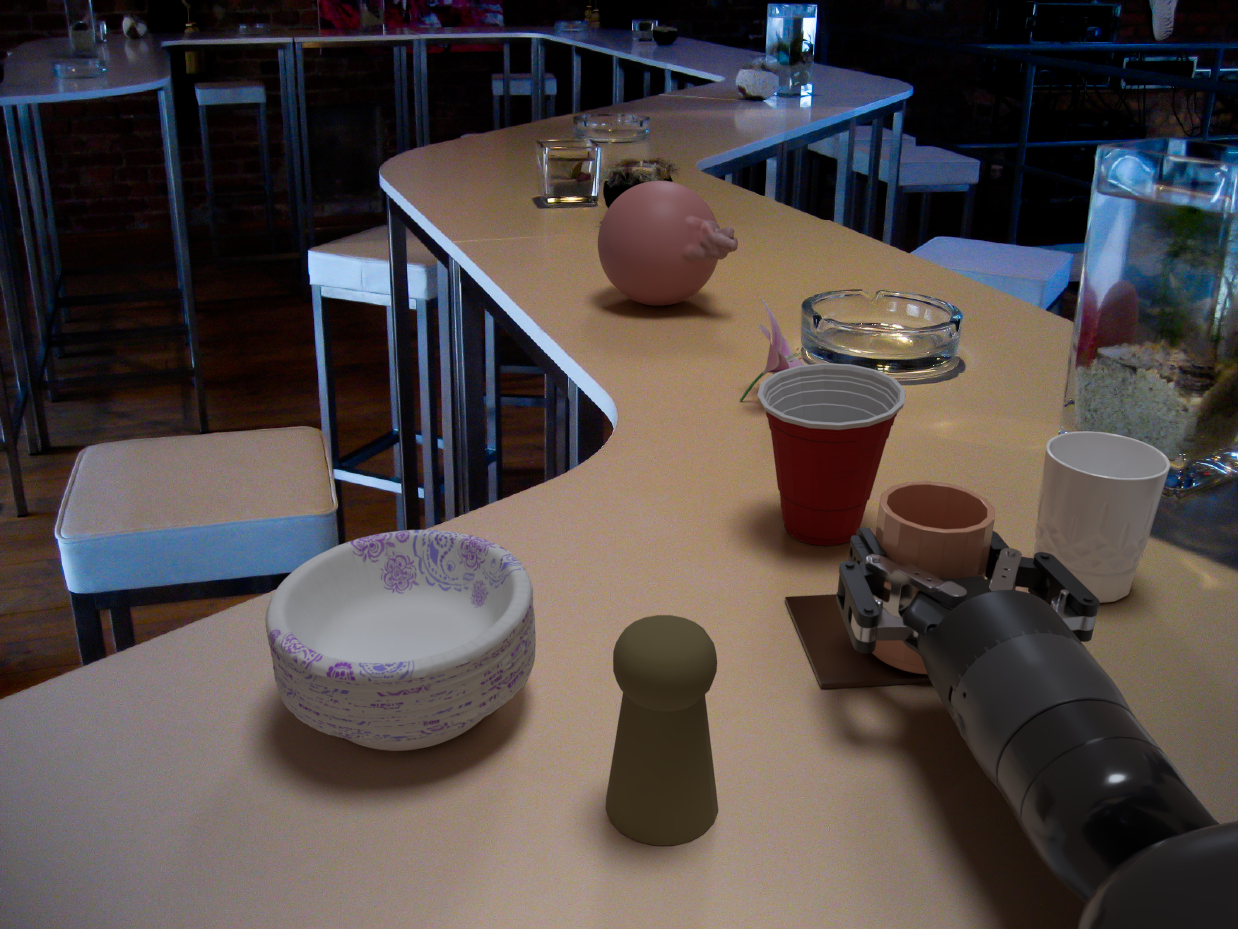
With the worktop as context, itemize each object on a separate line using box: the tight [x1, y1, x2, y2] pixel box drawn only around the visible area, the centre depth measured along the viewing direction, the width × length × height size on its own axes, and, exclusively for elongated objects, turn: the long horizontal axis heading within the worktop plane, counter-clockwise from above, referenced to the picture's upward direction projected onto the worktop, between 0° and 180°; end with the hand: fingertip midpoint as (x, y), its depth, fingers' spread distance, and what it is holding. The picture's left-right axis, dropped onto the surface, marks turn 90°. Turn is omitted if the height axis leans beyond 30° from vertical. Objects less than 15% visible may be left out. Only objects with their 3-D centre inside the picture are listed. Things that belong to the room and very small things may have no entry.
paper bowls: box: [264, 529, 537, 752], centre depth 64 cm, size 15×15×8 cm
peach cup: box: [872, 480, 996, 674], centre depth 68 cm, size 7×7×10 cm
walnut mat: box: [784, 593, 932, 690], centre depth 72 cm, size 14×10×1 cm
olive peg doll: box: [605, 614, 719, 846], centre depth 56 cm, size 6×6×11 cm
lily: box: [739, 296, 806, 402], centre depth 108 cm, size 12×12×10 cm
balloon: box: [597, 180, 739, 307], centre depth 135 cm, size 15×20×15 cm
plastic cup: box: [756, 362, 907, 547], centre depth 83 cm, size 11×11×12 cm
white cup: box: [1032, 430, 1171, 604], centre depth 76 cm, size 8×8×10 cm
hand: (917, 538), depth 69 cm, fingers closed on peach cup, 6 cm apart
